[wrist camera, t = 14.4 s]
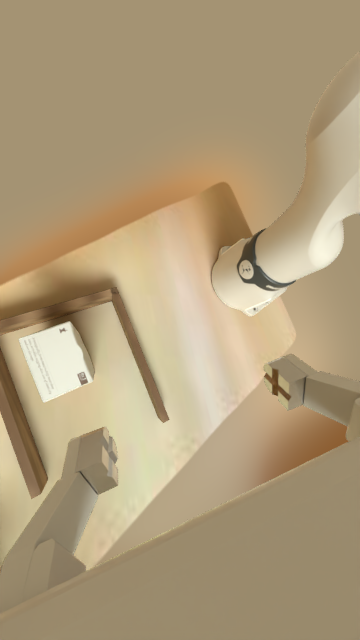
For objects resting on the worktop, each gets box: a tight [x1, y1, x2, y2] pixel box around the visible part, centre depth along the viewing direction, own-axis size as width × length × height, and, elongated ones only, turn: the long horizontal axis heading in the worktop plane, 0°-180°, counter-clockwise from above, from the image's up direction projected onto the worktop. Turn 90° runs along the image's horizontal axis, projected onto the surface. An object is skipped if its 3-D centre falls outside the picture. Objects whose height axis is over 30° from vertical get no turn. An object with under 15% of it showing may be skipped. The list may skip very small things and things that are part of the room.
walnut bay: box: [0, 287, 169, 499], centre depth 37 cm, size 22×26×4 cm
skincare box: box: [19, 321, 95, 403], centre depth 32 cm, size 8×6×15 cm
